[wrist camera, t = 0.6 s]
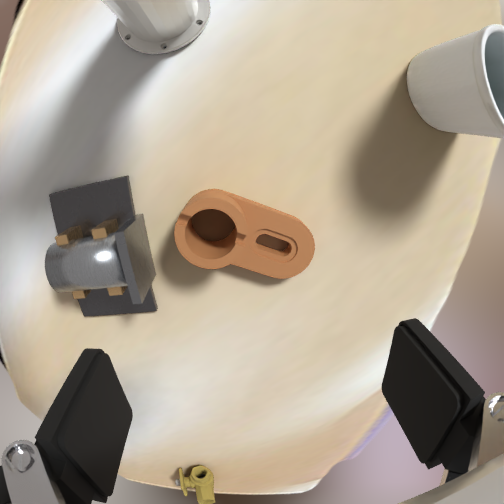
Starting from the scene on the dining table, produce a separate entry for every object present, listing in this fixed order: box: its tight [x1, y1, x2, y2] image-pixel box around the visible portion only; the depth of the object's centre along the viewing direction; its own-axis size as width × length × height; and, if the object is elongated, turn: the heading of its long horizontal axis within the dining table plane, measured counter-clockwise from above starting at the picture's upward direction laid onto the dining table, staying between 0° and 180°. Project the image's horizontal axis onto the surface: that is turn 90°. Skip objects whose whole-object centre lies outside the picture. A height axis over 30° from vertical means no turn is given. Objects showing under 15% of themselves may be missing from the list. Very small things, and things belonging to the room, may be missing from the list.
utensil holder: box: [407, 24, 504, 139], centre depth 27 cm, size 15×15×18 cm
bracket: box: [174, 189, 315, 279], centre depth 38 cm, size 18×8×7 cm, turn 69°
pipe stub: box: [45, 176, 158, 316], centre depth 36 cm, size 20×14×8 cm
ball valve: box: [176, 465, 215, 504], centre depth 58 cm, size 13×10×10 cm
